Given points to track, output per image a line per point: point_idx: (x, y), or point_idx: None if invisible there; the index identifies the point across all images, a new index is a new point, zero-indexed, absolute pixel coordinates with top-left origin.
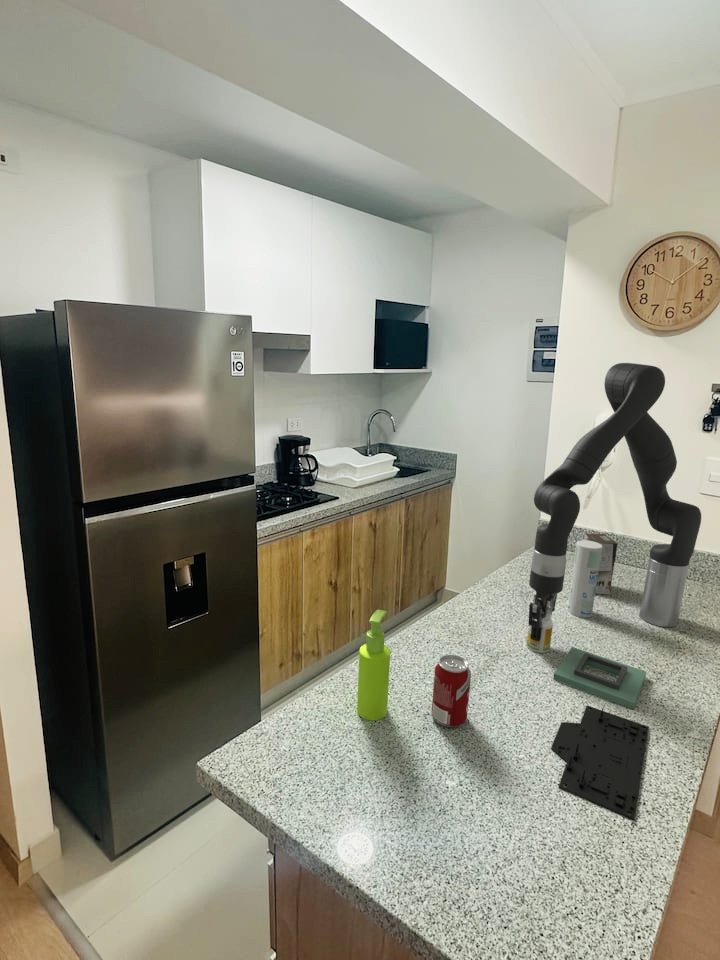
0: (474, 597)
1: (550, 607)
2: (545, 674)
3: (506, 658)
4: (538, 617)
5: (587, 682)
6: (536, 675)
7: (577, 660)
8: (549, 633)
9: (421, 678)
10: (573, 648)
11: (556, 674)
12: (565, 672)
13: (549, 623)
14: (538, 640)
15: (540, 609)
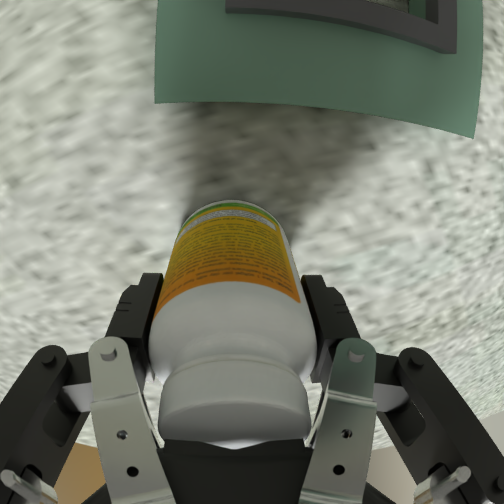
0: (90, 438)
1: (151, 434)
2: (436, 164)
3: (386, 309)
4: (471, 421)
5: (465, 3)
6: (453, 194)
7: (303, 38)
8: (264, 261)
9: (494, 373)
10: (171, 89)
11: (474, 128)
12: (448, 90)
13: (263, 322)
14: (319, 279)
15: (501, 475)
